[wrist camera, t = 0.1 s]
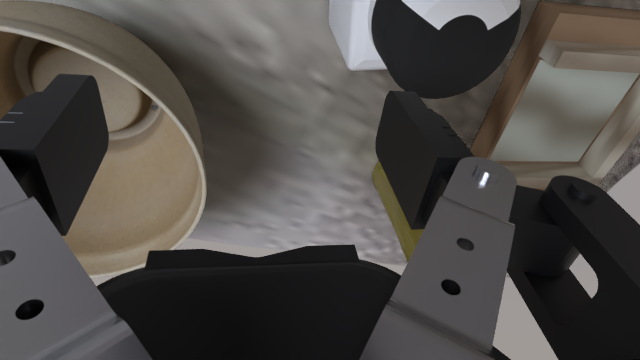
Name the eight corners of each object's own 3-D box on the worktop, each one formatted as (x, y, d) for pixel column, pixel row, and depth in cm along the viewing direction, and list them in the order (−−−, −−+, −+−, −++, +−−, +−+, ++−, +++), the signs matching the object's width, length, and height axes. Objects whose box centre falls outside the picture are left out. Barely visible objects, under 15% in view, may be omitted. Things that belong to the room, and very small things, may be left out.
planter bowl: (184, 189, 35) (167, 295, 27) (-41, 135, 29) (-149, 255, 21) (247, 23, 27) (249, 109, 19) (-56, -107, 20) (-251, -61, 12)
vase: (360, 186, 38) (405, 323, 28) (392, 137, 35) (457, 272, 24) (411, 199, 41) (471, 329, 30) (446, 153, 37) (527, 283, 27)
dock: (539, 0, 29) (578, 24, 25) (663, 12, 31) (714, 35, 27) (446, 200, 42) (464, 232, 38) (538, 198, 44) (563, 229, 40)
